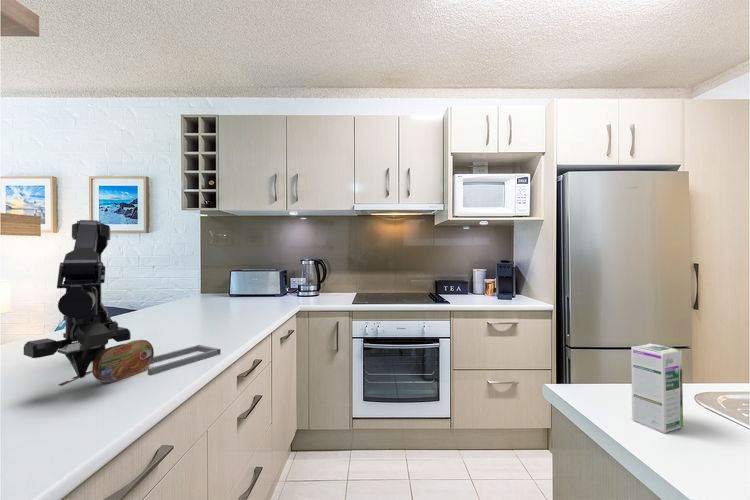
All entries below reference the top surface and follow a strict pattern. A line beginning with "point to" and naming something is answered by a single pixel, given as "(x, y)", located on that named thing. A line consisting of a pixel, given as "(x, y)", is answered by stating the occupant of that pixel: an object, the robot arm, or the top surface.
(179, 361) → the slate corral
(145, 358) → the tin
